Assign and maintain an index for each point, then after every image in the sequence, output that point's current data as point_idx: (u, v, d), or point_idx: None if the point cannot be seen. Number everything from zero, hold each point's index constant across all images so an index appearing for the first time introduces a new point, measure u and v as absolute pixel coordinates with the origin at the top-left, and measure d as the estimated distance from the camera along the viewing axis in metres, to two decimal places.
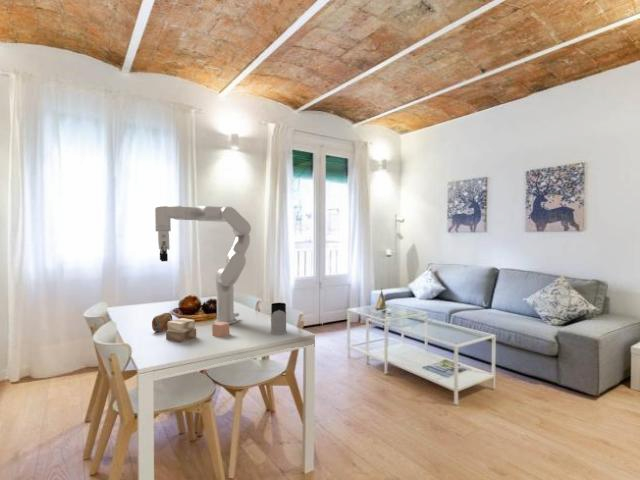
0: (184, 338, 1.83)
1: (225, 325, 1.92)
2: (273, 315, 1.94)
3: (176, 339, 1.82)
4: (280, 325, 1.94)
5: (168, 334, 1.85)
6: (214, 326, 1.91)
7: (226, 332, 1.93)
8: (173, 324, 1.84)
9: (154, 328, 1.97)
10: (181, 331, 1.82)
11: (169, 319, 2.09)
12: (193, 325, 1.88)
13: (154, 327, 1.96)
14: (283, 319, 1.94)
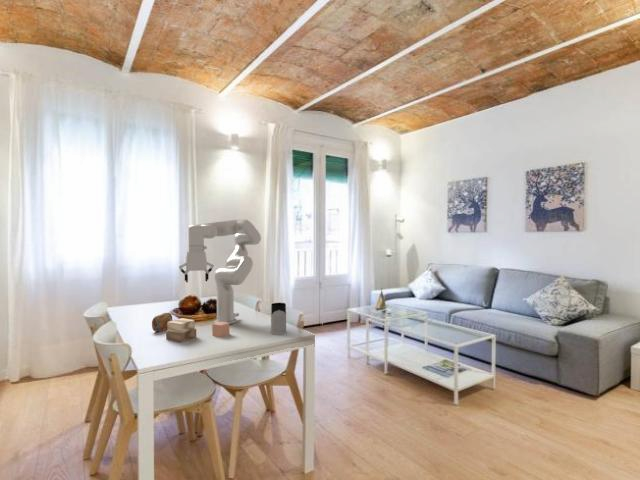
0: (184, 338, 1.83)
1: (225, 325, 1.92)
2: (273, 315, 1.94)
3: (176, 339, 1.82)
4: (280, 325, 1.94)
5: (168, 334, 1.85)
6: (214, 326, 1.91)
7: (226, 332, 1.93)
8: (173, 324, 1.83)
9: (154, 328, 1.97)
10: (181, 331, 1.82)
11: (169, 319, 2.09)
12: (193, 325, 1.89)
13: (154, 327, 1.96)
14: (283, 319, 1.94)
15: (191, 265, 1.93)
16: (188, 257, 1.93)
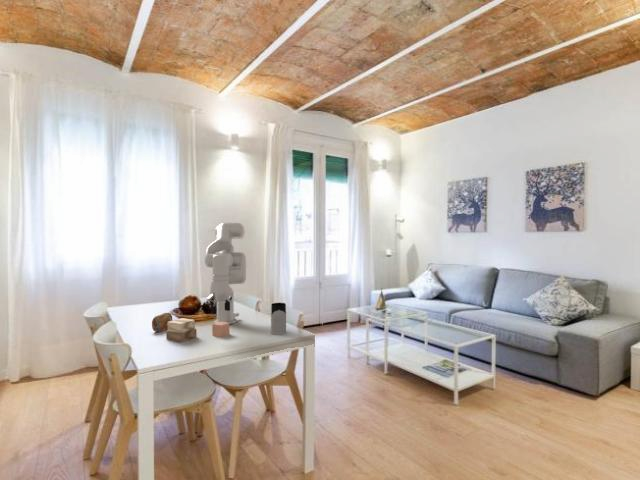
0: (184, 338, 1.83)
1: (225, 325, 1.92)
2: (273, 315, 1.94)
3: (176, 339, 1.82)
4: (280, 325, 1.94)
5: (168, 334, 1.85)
6: (214, 326, 1.91)
7: (226, 332, 1.93)
8: (173, 324, 1.84)
9: (154, 328, 1.97)
10: (181, 331, 1.82)
11: (169, 319, 2.09)
12: (193, 325, 1.89)
13: (154, 327, 1.96)
14: (283, 319, 1.94)
15: (219, 296, 1.89)
16: (217, 288, 1.88)
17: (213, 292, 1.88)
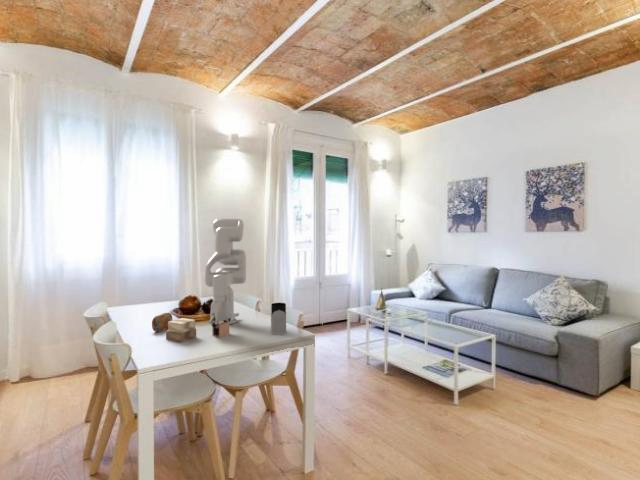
0: (184, 338, 1.83)
1: (225, 325, 1.92)
2: (273, 315, 1.94)
3: (176, 339, 1.82)
4: (280, 325, 1.94)
5: (168, 334, 1.85)
6: None
7: (226, 332, 1.93)
8: (174, 324, 1.84)
9: (154, 328, 1.97)
10: (182, 331, 1.82)
11: (169, 319, 2.09)
12: (194, 325, 1.89)
13: (154, 327, 1.96)
14: (283, 319, 1.94)
15: (220, 316, 1.90)
16: (217, 308, 1.88)
17: (213, 313, 1.89)
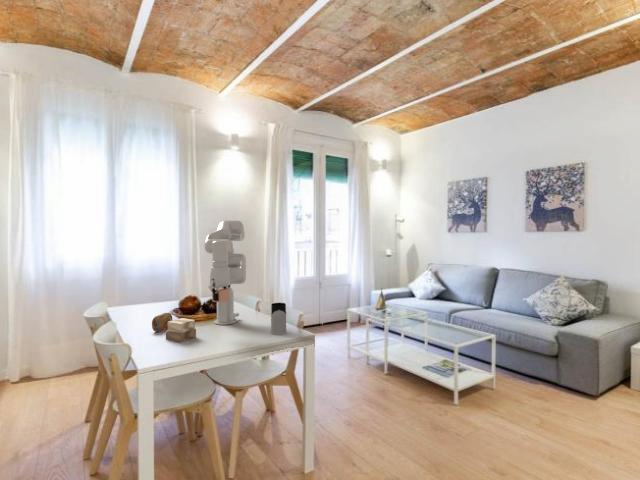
0: (183, 339, 1.83)
1: (225, 291, 1.92)
2: (273, 315, 1.94)
3: (176, 339, 1.82)
4: (280, 325, 1.94)
5: (168, 334, 1.85)
6: None
7: (226, 298, 1.93)
8: (173, 324, 1.84)
9: (154, 328, 1.97)
10: (181, 331, 1.82)
11: (169, 319, 2.09)
12: (193, 325, 1.89)
13: (154, 327, 1.96)
14: (283, 319, 1.94)
15: (219, 282, 1.89)
16: (217, 274, 1.88)
17: (213, 278, 1.88)
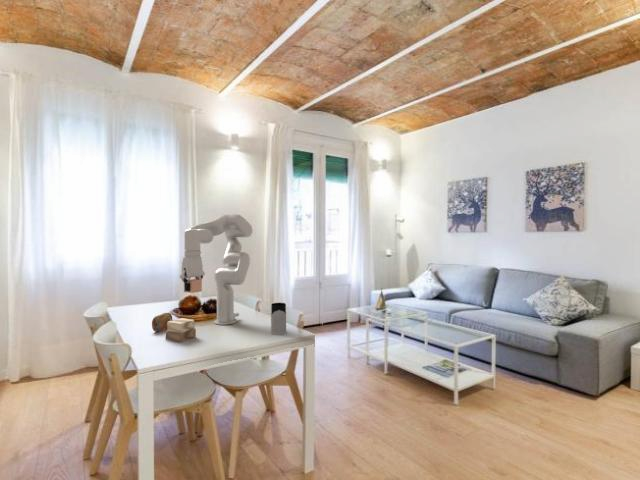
0: (183, 338, 1.83)
1: (197, 281, 1.87)
2: (273, 315, 1.94)
3: (175, 339, 1.82)
4: (280, 325, 1.94)
5: (168, 334, 1.85)
6: None
7: (198, 288, 1.88)
8: (173, 324, 1.84)
9: (154, 328, 1.97)
10: (181, 331, 1.82)
11: (169, 319, 2.09)
12: (193, 325, 1.89)
13: (154, 327, 1.96)
14: (283, 319, 1.94)
15: (191, 271, 1.85)
16: (189, 263, 1.84)
17: (185, 267, 1.84)
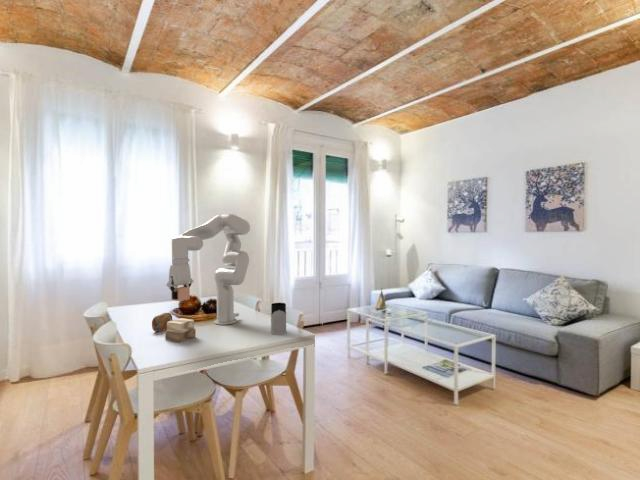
0: (183, 338, 1.83)
1: (184, 289, 1.85)
2: (273, 315, 1.94)
3: (175, 339, 1.82)
4: (280, 325, 1.94)
5: (167, 334, 1.85)
6: None
7: (186, 296, 1.86)
8: (173, 324, 1.83)
9: (154, 328, 1.97)
10: (181, 331, 1.82)
11: (169, 319, 2.09)
12: (192, 325, 1.89)
13: (154, 327, 1.96)
14: (283, 319, 1.94)
15: (179, 279, 1.83)
16: (176, 271, 1.82)
17: (172, 275, 1.82)
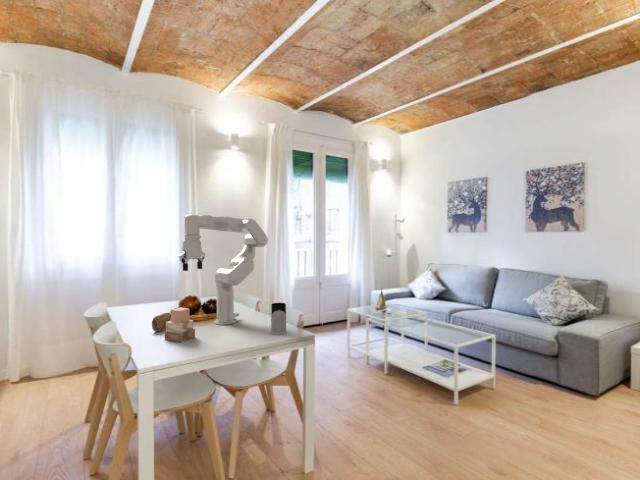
0: (182, 339, 1.82)
1: (184, 311, 1.85)
2: (273, 315, 1.94)
3: (174, 339, 1.82)
4: (280, 325, 1.94)
5: (167, 334, 1.84)
6: (173, 312, 1.85)
7: (186, 318, 1.86)
8: (172, 324, 1.83)
9: (154, 328, 1.97)
10: (180, 331, 1.82)
11: (169, 319, 2.09)
12: (192, 325, 1.88)
13: (154, 327, 1.96)
14: (283, 319, 1.94)
15: (191, 254, 1.98)
16: (188, 246, 1.97)
17: (185, 250, 1.97)
